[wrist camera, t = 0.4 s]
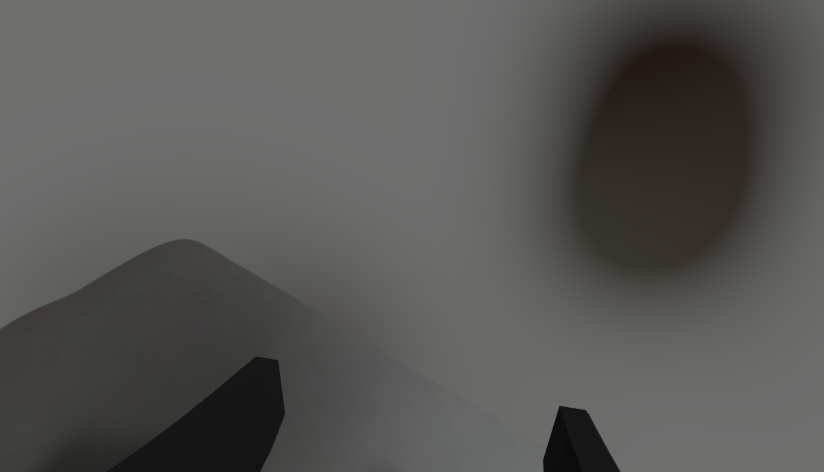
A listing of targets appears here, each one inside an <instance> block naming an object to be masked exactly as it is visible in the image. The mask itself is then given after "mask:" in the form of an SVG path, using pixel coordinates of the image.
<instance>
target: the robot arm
mask: <svg viewBox="0 0 824 472" xmlns="http://www.w3.org/2000/svg"><path fill="white" fill-rule="evenodd" d="M284 415H285V410H284V403H283V395H282V387H281V380H280V372H279V364H278V360H274V359H267V358H261V357H255V358H254V359H252V360H251V361H250V362H249V363H248V364H246V365H245V366H244V367H243V368H242V369H240V370H239V371H238V372H237V373H236V374H234V375H233V376H232V377H231V378H230V379H228V380H227V381H226V382H225V383H224V384H222V385H221V386H220V387H219V388H218V389H216V390H215V391H214V392H213V393H212V394H210V395H209V396H208V397H207V398H206V399H204V400H203V401H202V402H201V403H199V404H198V405H197V406H196V407H194V408H193V409H192V410H191V411H189V412H188V413H187V414H186V415H184V416H183V417H182V418H181V419H179V420H178V421H177V422H175V423H174V424H173V425H171V426H170V427H169V428H167V429H166V430H165V431H163V432H162V433H161V434H159V435H158V436H157V437H155V438H154V439H153V440H151V441H150V442H149V443H147V444H146V445H145V446H143V447H142V448H140V449H139V450H138V451H136V452H135V453H133V454H132V455H130V456H129V457H128V458H126V459H125V460H123V461H122V462H120V463H119V464H117V465H116V466H114V467H113V468H111V469H110V470H108V471H107V472H260V471H261V469H262V467H263V465H264V463H265V461H266V459H267V457H268V455H269V453H270V451H271V448H272V446H273V444H274V441H275V439H276V436H277V434H278V431H279V428H280V426H281V423H282V420H283V418H284ZM543 468H544V472H620V470H619V469H618V467H617V465H616V463H615V461H614V460H613V458H612V456H611V454H610V453H609V451H608V449H607V447H606V446H605V444H604V442H603V440H602V438H601V436H600V434H599V433H598V431H597V429H596V427H595V425H594V423H593V421H592V419H591V417H590V415H589V414H588V413H587V411H586V410H582V409H575V408H569V407H563V406H559V409H558V413H557V416H556V419H555V423H554V426H553V429H552V432H551V436H550V439H549V442H548V446H547V449H546V452H545V455H544V459H543Z"/></svg>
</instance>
